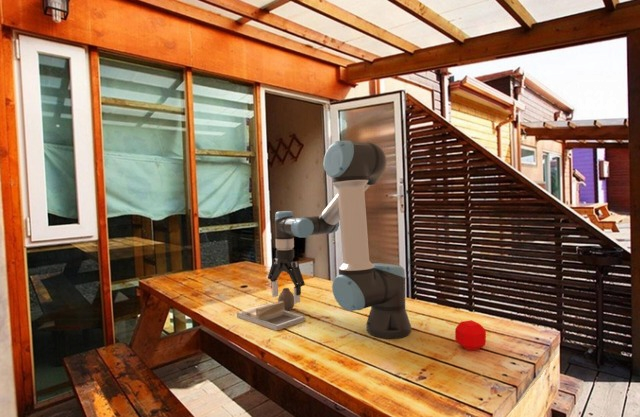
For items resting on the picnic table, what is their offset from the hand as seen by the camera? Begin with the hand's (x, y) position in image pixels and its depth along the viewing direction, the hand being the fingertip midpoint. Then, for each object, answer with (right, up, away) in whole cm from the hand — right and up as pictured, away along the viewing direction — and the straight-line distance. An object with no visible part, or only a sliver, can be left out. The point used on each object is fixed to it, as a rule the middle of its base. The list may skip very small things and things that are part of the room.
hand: (285, 299), depth 163 cm
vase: (0, -4, 0) cm, 4 cm away
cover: (-8, -3, -9) cm, 12 cm away
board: (-5, -5, -12) cm, 13 cm away
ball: (+60, -5, -43) cm, 74 cm away
